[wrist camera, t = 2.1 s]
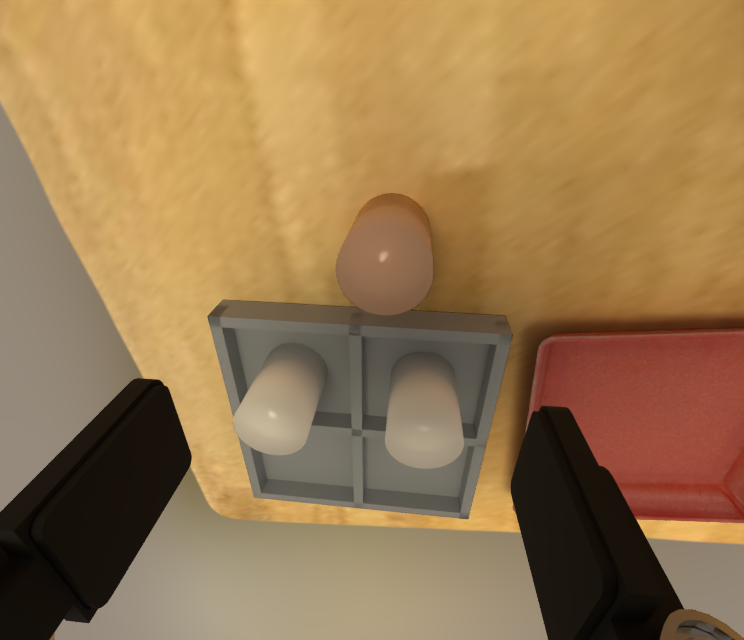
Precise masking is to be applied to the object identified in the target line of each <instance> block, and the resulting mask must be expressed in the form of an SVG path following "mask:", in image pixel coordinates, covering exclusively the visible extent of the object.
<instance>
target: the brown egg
mask: <svg viewBox="0 0 744 640" xmlns="http://www.w3.org/2000/svg"><path fill="white" fill-rule="evenodd" d="M336 276H337V280H338V283H339V286H340V288H341V290H342V292H343V293H344V295H345V296H346V297H347V298H348V299H349V300H350V301H351V302H352V303H353V304H354V305H355V306H357V307H358V308H360V309H362V310H364V311H366V312H369V313H372V314H377V315H396V314H400V313H403V312H406V311H408V310H410V309H412V308H413V307H415V306H416V305H418V304H419V303H420V302H421V301H422V300H423V299H424V298H425V296H426V295H427V293H428V292H429V290H430V288H431V285H432V282H433V277H434V266H433V255H432V245H431V235H430V225H429V221H428V218H427V215H426V213H425V212H424V210H423V209H422V207H421V206H420V205H419V204H418V203H417V202H415V201H414V200H413V199H411V198H409V197H407V196H404V195H401V194H394V193H390V194H382V195H379V196H377V197H375V198H373V199H371V200H370V201H368V202H367V203H366V204H365V205H364V206H363V207H362V208H361V210H360V211H359V213H358V215H357V217H356V219H355V221H354V223H353V225H352V227H351V229H350V231H349V233H348V235H347V237H346V240H345V242H344V244H343V246H342V248H341V250H340V252H339V254H338V257H337V262H336Z"/></svg>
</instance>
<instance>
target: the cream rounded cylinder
mask: <svg viewBox="0 0 744 640" xmlns="http://www.w3.org/2000/svg"><path fill="white" fill-rule="evenodd" d="M385 445H386V448H387V450H388V452H389V453H390V454H391V456H392V457H393V458H395V459H396V460H397V461H399V462H401V463H402V464H405V465H407V466H410V467H414V468H420V469H432V468H438V467H442V466H445V465H447V464H449V463H451V462H453V461H454V460H455V459H457V458H458V457H459V455H460V454H461V452H462V450H463V447H464V438H463V430H462V423H461V416H460V408H459V401H458V393H457V386H456V379H455V372H454V369H453V367H452V365H451V364H450V363H449V362H448V361H447V360H446V359H445V358H444V357H442V356H440V355H438V354H435V353H432V352H425V351H420V352H413V353H410V354H407V355H405V356H403V357H402V358H400V359H399V360H398V361H397V362H396V363H395V365H394V366H393V368H392V371H391V379H390V390H389V401H388V412H387V423H386V433H385Z"/></svg>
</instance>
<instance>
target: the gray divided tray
mask: <svg viewBox="0 0 744 640" xmlns="http://www.w3.org/2000/svg"><path fill="white" fill-rule="evenodd" d="M207 317H208V321H209V324H210V328H211V332H212V336H213V340H214V344H215V348H216V352H217V356H218V359H219V363H220V367H221V371H222V375H223V379H224V383H225V387H226V391H227V394H228V398H229V402H230V406H231V410H232V414H233V418H234V415H235V413H236V411H237V409H238V408H239V406H240V404H241V402H242V400H243V399H244V397H245V395H246V393H247V392H248V390H249V388H250V386H251V385H252V383H253V381H254V379H255V378H256V376H257V374H258V372H259V371H260V369H261V367H262V365H263V364H264V362H265V360H266V358H267V356H268V355H269V353H270V352H271V351H272V349H274V348H275V347H277V346H278V345H281V344H285V343H298V344H303V345H306V346H308V347H310V348H312V349H313V350H315V351H316V352H317V353H318V354H320V356H321V357H322V358H323V360H324V361H325V363H326V366H327V378H326V381H325V384H324V387H323V390H322V393H321V396H320V400H319V403H318V406H317V409H316V412H315V415H314V418H313V422H312V425H311V428H310V431H309V434H308V437H307V440H306V443H305V445H304V446H303V447H302V448H301V449H300V450H298V451H297V452H295V453H292V454H288V455H270V454H266V453H262V452H260V451H257V450H255V449H253V448H251V447H250V446H248V445H247V444H245V443H244V442H243V441H242V440H241V439H240V438H239V441H240V445H241V449H242V453H243V457H244V461H245V464H246V468H247V472H248V476H249V480H250V484H251V488H252V492H253V496H254V498H263V499H273V500H283V501H293V502H303V503H313V504H322V505H332V506H342V507H352V508H362V509H371V510H381V511H391V512H401V513H411V514H421V515H430V516H440V517H450V518H460V519H468V518H469V514H470V510H471V506H472V502H473V497H474V493H475V489H476V485H477V481H478V477H479V473H480V469H481V464H482V460H483V456H484V452H485V448H486V444H487V440H488V435H489V431H490V427H491V423H492V419H493V415H494V411H495V407H496V402H497V398H498V394H499V390H500V386H501V382H502V378H503V374H504V369H505V365H506V361H507V357H508V353H509V349H510V345H511V340H512V336H513V334H512V331H511V329H510V326H509V324H508V321H507V319H506V316H503V315H485V314H467V313H450V312H432V311H414V310H408V311H406V312H403V313H400V314H396V315H377V314H372V313H369V312H366V311H364V310H362V309H360V308H358V307H343V306H326V305H308V304H290V303H273V302H255V301H237V300H222V301H221V302H220V303H219V304H218V305H217V307H216V308H215V309H214V310H213V311H212V312H211V313H210V314H209V315H208V316H207ZM420 351H425V352H432V353H435V354H438V355H440V356H442V357H444V358H445V359H446V360H447V361H448V362H449V363H450V364H451V365H452V367H453V369H454V372H455V379H456V386H457V393H458V401H459V408H460V416H461V423H462V430H463V438H464V447H463V450H462V452H461V454H460V455H459V457H458V458H457V459H455V460H454V461H453V462H451V463H449V464H447V465H445V466H442V467H438V468H432V469H420V468H414V467H410V466H407V465H405V464H402V463H401V462H399V461H397V460H396V459H395V458H393V457H392V456H391V454H390V453H389V452H388V450H387V448H386V445H385V433H386V423H387V412H388V401H389V390H390V379H391V371H392V368H393V366H394V365H395V363H396V362H397V361H398V360H399V359H400V358H402V357H403V356H405V355H407V354H410V353H413V352H420ZM238 437H239V436H238Z"/></svg>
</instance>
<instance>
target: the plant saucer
mask: <svg viewBox="0 0 744 640" xmlns="http://www.w3.org/2000/svg"><path fill="white" fill-rule="evenodd" d="M541 406H557V407H567V408H569V409H570V411H571V412H572V414H573V416H574V418H575V420H576V422H577V424H578V426H579V428H580V430H581V432H582V433H583V435H584V437H585V439H586V441H587V443H588V445H589V447H590V449H591V451H592V453H593V455H594V457H595V459H596V461H597V463H598V465H599V466H603V467H605V468H606V469H608V470H609V472H610V473H611V475H612V476H613V478H614V479H615V481H616V483H617V485H618V487H619V489H620V491H621V492H622V494H623V496H624V498H625V500H626V502H627V504H628V505H629V507H630V509H631V511H632V513H633V515H634V517H635V518H636V519H639V520H674V521H699V522H721V523H744V328H729V329H697V330H666V331H627V332H596V333H561V334H554V335H551V336H549V337H547V338H545V339H544V340H543V341H542V342H541V344H540V345H539V348H538V352H537V358H536V364H535V371H534V378H533V384H532V390H531V397H530V403H529V410H528V416H527V423H526V429H525V434H526V431H527V427H528V424H529V421H530V417H531V414H532V412H533V411H539V409H540V407H541ZM524 437H525V435H524ZM513 510H514V511H515V507H514V503H513ZM515 513H516V511H515Z"/></svg>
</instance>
